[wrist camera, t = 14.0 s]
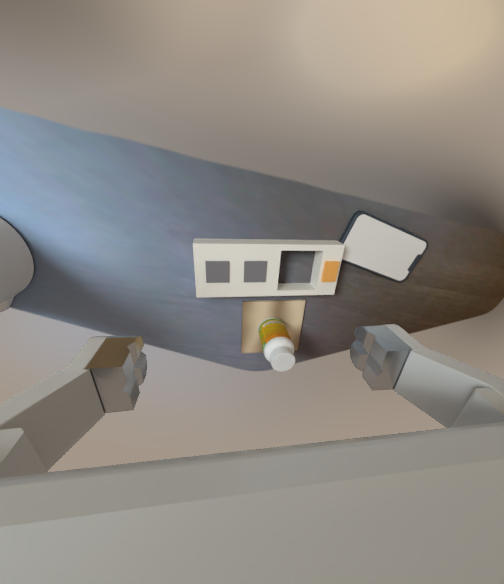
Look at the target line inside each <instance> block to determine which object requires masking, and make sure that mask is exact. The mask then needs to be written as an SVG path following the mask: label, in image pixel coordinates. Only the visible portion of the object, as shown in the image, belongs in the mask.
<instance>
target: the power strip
mask: <svg viewBox="0 0 504 584" xmlns="http://www.w3.org/2000/svg"><path fill="white" fill-rule="evenodd" d="M344 247H345V245H344V244H342V243H341V242H339V241H337V240H266V239H194V242H193V253H194V268H195V283H196V298H198V297H246V296H294V295H334V293H335V288H336V284H337V279H338V275H339V270H340V266H341V261H342V256H343V252H344ZM281 251H316V252H315V258H314V264H313V270H312V276H311V282H310V283H278V277H279V268H280V258H281Z"/></svg>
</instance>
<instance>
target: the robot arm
mask: <svg viewBox="0 0 504 584" xmlns="http://www.w3.org/2000/svg"><path fill="white" fill-rule="evenodd" d="M33 272H34V264H33V259H32V255H31V253H30V250H29V248H28V246H27V245H26V243H25V242H24V240H23V239H22V237H21V236H20V235H19V234H18V233H17V232H16V230H15V229H14V228H12V227H11V226H10V225H9V224H8V223H7V222H5V221H4V220H3V219H1V218H0V312H2V311H4V310H6V309H8V308H9V307H10V306H11V304H12V301H13V298H14V297H15V296H16V295H17V294H18V293H19V292H21V291H22V290H24V289H25V288H26V287H27V286H28V284H29V283H30V281H31V279H32V277H33ZM354 336H355V338H356V340H355V341H354V342H353V343H352V345H351V349H350V356H351V360H352V362H353V364H354V365H355V367H356V368H357V369H359V370H361V371H362V372H363V378H364V379H365V381H366V382H367V384H368V385H369V386H370V388H371V389H372V390H389V389H394V391H395V392H397V393H398V394H400V395H401V396H403V397H404V398H405V399H407V400H408V401H410V402H411V403H413V404H414V405H415V406H417V407H418V408H419V409H421V410H422V411H424V412H425V413H427V414H428V415H429V416H431V417H432V418H434V419H435V420H436V421H438V422H439V423H441V424H442V425H444V426H445V427H446V428H444V429H435V430H426V431H417V432H408V433H399V434H390V435H381V436H372V437H363V438H354V439H346V440H336V441H327V442H319V443H309V444H300V445H292V446H282V447H273V448H264V449H255V450H246V451H237V452H228V453H219V454H209V455H201V456H192V457H183V458H173V459H164V460H156V461H147V462H137V463H128V464H120V465H112V466H111V465H110V466H102V467H92V468H83V469H75V470H66V471H56V472H48V470H49V469H50V468H51V467H52V466H53V465H54V464H55V463H56V462H57V461H58V460H59V459H60V458H61V457H62V456H63V455H64V454H65V453H66V452H67V451H68V450H69V449H70V448H71V447H72V446H73V445H74V444H75V443H76V442H77V441H78V440H79V439H80V438H81V437H83V436H84V435H85V434H86V432H88V431H89V430H90V429H91V428H92V427H93V426H94V425H95V424H96V423H97V422H98V421H99V420H100V419H101V418H102V417H103V416H104V415H105V413H111V412H119V411H128V410H134V407H135V404H136V402H137V399H138V396H139V393H140V392H139V387H138V386H139V385H141V384H142V383H143V382H144V379H145V376H146V370H147V360H146V355H145V354H144V353H142V352H141V350H142V348H143V346H144V344H143V340H142V337H141V336H140V335H135V336H100V337H99V336H98V337H92V338H90V339H89V340H88V342H87V343H86V344H85V345H84V347H83V348H82V349H81V350H80V352H79V353H78V354H77V356H76V357H75V358H74V359H73V361H72V362H71V363H70V364H69V366H68V367H67V368H66V369H65V371H58V372H57V373H55V374H53V375H51V376H49V377H48V378H46V379H44V380H42V381H41V382H39V383H37V384H35V385H33V386H32V387H30V388H28V389H26V390H24V391H23V392H21V393H19V394H17V395H16V396H14V397H12V398H10V399H9V400H7V401H5V402H3V403H1V404H0V584H504V379H502V378H499V377H497V376H495V375H492V374H490V373H487V372H485V371H482V370H480V369H478V368H475V367H473V366H470V365H468V364H466V363H463V362H461V361H458V360H456V359H453V358H451V357H448V356H446V355H444V354H441V353H439V352H437V351H434V350H431V349H426V348H425V347H424V346H423V345H421V344H420V343H419V342H418V341H417V340H415V339H414V338H413V337H412V336H411V335H409V334H408V333H407V332H406V331H404V330H403V329H402V328H401V327H400V326H398V325H395V324H389V325H379V326H360V327H358V328H357V329H356V331H355V334H354Z"/></svg>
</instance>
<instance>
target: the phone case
mask: <svg viewBox="0 0 504 584" xmlns="http://www.w3.org/2000/svg"><path fill="white" fill-rule="evenodd" d="M339 242H341V243H342V244H344V245H345V247H344V252H343V256H342V261H343V262H346V263H349V264H351V265H354V266H357V267H359V268H362V269H364V270H367V271H370V272H371V273H374V274H376V275H379V276H383V277H385V278H388V279H391V280H393V281H396V282H402V281H404V280H405V279H406V278H407V277H408V275H409V274H410V272H411V271H412V269H413V268H414V266H415V265H416V264H417V262H418V261H419V259H420V258H421V256H422V255H423V253H424V252H425V250H426V249H427V247H428V242H427V240H425V239H423V238H421V237H419V236H416V235H414V234H413V233H411V232H409V231H407V230H405V229H403V228H399V227H397V226H395V225H392V224H390V223H388V222H386V221H384V220H381V219H379V218H377V217H375V216H373V215H371V214H368V213H366V212H364V211H358V212H356V213H355V214H354V215H353V216H352V218H351V220H350V222H349V224H348V226H347V227H346V229H345V231H344V233H343V235H342V237H341V239H340V241H339Z"/></svg>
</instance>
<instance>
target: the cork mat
mask: <svg viewBox="0 0 504 584" xmlns="http://www.w3.org/2000/svg"><path fill="white" fill-rule="evenodd" d="M305 302H306V300H269V301H243V309H242V342H241V353H258V352H263V348H262V344H261V341H260V337H259V333H258V328H259V325H260V324H261V322H262V321H264V320H265V319H267V318H271V317H275V318H279V319H280V320H282V321H283V323H284V324H285V327H286V329H287V331H288V333H289V336H290V338H291V340H292V342H293V345H294V351H295V350H298V345H299V338H300V332H301V326H302V320H303V314H304V308H305Z"/></svg>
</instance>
